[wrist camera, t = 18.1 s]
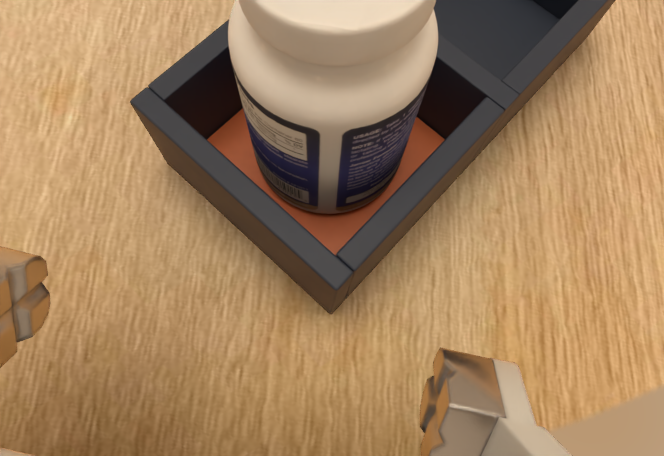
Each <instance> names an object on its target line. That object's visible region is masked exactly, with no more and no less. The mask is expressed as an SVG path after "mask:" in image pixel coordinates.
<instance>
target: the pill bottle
mask: <svg viewBox="0 0 664 456" xmlns="http://www.w3.org/2000/svg"><path fill="white" fill-rule="evenodd" d="M435 2H436V0H235V2H234V4H233V7H232V10H231V14H230V18H229V25H228V44H229V51H230V58H231V63H232V67H233V71H234V74H235V78H236V82H237V86H238V90H239V94H240V98H241V102H242V106H243V110H244V114H245V118H246V122H247V126H248V130H249V134H250V138H251V142H252V146H253V149H254V153H255V157H256V161H257V164H258V166H259V169H260V171H261V173H262V175H263V177H264V179H265V181H266V182H267V184H268V185H269V186H270V187H271V189H272V190H273V191H274V192H275V193H276V194H277V195H279V196H280V197H281V198H282V199H284V200H285V201H287V202H288V203H290V204H292V205H293V206H296V207H298V208H300V209H303V210H306V211H310V212H314V213H322V214H336V213H344V212H348V211H352V210H355V209H358V208H360V207H362V206H364V205H366V204H368V203H370V202H371V201H373V200H374V199H375V198H377V197H378V196H379V195H380V194H381V193H382V192H383V191H384V190H385V189H386V188H387V187H388V185H389V184H390V183H391V181H392V179H393V178H394V176H395V174H396V172H397V170H398V168H399V165H400V162H401V159H402V157H403V153H404V151H405V148H406V145H407V142H408V139H409V136H410V133H411V131H412V128H413V125H414V122H415V119H416V116H417V113H418V110H419V107H420V104H421V102H422V99H423V96H424V93H425V90H426V87H427V85H428V82H429V79H430V76H431V73H432V69H433V66H434V63H435V59H436V55H437V48H438V27H437V21H436V16H435V12H434V9H433V8H434V6H435Z"/></svg>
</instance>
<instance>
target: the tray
mask: <svg viewBox="0 0 664 456" xmlns="http://www.w3.org/2000/svg"><path fill="white" fill-rule="evenodd" d="M614 1H615V0H436V2H435V6H434V8H433V9H434V12H435V16H436V21H437V27H438V48H437V55H436V59H435V63H434V66H433V69H432V73H431V76H430V79H429V82H428V85H427V87H426V90H425V93H424V96H423V99H422V102H421V104H420V107H419V110H418V113H417V116H416V119H415V122H414V125H413V128H412V131H411V133H410V136H409V139H408V142H407V145H406V148H405V151H404V153H403V157H402V159H401V162H400V165H399V168H398V170H397V172H396V174H395V176H394V178H393V179H392V181H391V183H390V184H389V185H388V187H387V188H386V189H385V190H384V191H383V192H382V193H381V194H380V195H379V196H378V197H377V198H375V199H374V200H373V201H371V202H370V203H368V204H366V205H364V206H362V207H360V208H358V209H355V210H352V211H348V212H344V213H336V214H322V213H314V212H310V211H306V210H303V209H300V208H298V207H296V206H293V205H292V204H290V203H288V202H287V201H285V200H284V199H282V198H281V197H280V196H279V195H277V194H276V193H275V192H274V191H273V190H272V189H271V187H270V186H269V185H268V184H267V182H266V181H265V179H264V177H263V175H262V173H261V171H260V169H259V166H258V164H257V161H256V157H255V153H254V149H253V146H252V142H251V138H250V134H249V130H248V126H247V122H246V118H245V114H244V110H243V106H242V102H241V98H240V94H239V90H238V86H237V82H236V78H235V74H234V71H233V67H232V63H231V58H230V51H229V44H228V25H229V20H228V21H227V22H225V23H224V24H223V25H222V26H220V27H219V28H218V29H217V30H215V31H214V32H213V33H212V34H211V35H209V36H208V37H207V38H206V39H204V40H203V41H202V42H201V43H199V44H198V45H197V46H196V47H195V48H193V49H192V50H191V51H190V52H188V53H187V54H186V55H185V56H184V57H182V58H181V59H180V60H179V61H177V62H176V63H175V64H174V65H172V66H171V67H170V68H169V69H168V70H166V71H165V72H164V73H163V74H161V75H160V76H159V77H158V78H157V79H155V80H154V81H153V82H152V83H150V84H149V85H148V86H149V88H148V87H147V88H145V89H144V90H143V91H141V92H140V93H139V94H138V95H136V96H135V97H134V98H133V99H132V100H131V101H130V103H131V105H132V106H133V108H134V110H135V111H136V113H137V115H138V116H139V118H140V119H141V121H142V123H143V124H144V126H145V127H146V129H147V131H148V132H149V134H150V135H151V137H152V139H153V140H154V142H155V144H156V145H157V147H158V148H159V150H160V152H161V153H162V155H163V157H164V159H165V160H166V162H167V163H168V164H169V165H170V166H171V167H173V168H174V169H175V170H176V171H177V172H178V173H179V174H180V175H181V176H182V177H183V178H184V179H185V180H187V181H188V182H189V183H190V184H191V185H192V186H193V187H194V188H195V189H196V190H197V191H198V192H199V193H200V194H202V195H203V196H204V197H205V198H206V199H207V200H208V201H209V202H210V203H211V204H212V205H213V206H214V207H216V208H217V209H218V210H219V211H220V212H221V213H222V214H223V215H224V216H225V217H226V218H227V219H228V220H230V221H231V222H232V223H233V224H234V225H235V226H236V227H237V228H238V229H239V230H240V231H241V232H242V233H244V234H245V235H246V236H247V237H248V238H249V239H250V240H251V241H252V242H253V243H254V244H255V245H256V246H257V247H259V248H260V249H261V250H262V251H263V252H264V253H265V254H266V255H267V256H268V257H269V258H270V259H271V260H273V261H274V262H275V263H276V264H277V265H278V266H279V267H280V268H281V269H282V270H283V271H284V272H285V273H287V274H288V275H289V276H290V277H291V278H292V279H293V280H294V281H295V282H296V283H297V284H298V285H299V286H301V287H302V288H303V289H304V290H305V291H306V292H307V293H308V294H309V295H310V296H311V297H312V298H313V299H314V300H316V301H317V302H318V303H319V304H320V305H321V306H322V307H323V308H324V309H325V310H326V311H327V312H328V313H330V314H332V313H333V312H334V311H335V310H336V309H337V308H338V307H339V306H340V304H341V303H342V302H343V301H344V300H345V299H346V298H347V297H348V296H349V295H350V294H351V292H352V291H353V290H354V289H355V288H356V287H357V286H358V285H359V284H360V283H361V282H362V281H363V279H364V278H365V277H366V276H367V275H368V274H369V273H370V272H371V271H372V270H373V269H374V268H375V266H376V265H377V264H378V263H379V262H380V261H381V260H382V259H383V258H384V257H385V256H386V255H387V253H388V252H389V251H390V250H391V249H392V248H393V247H394V246H395V245H396V244H397V243H398V241H399V240H400V239H401V238H402V237H403V236H404V235H405V234H406V233H407V232H408V231H409V230H410V228H411V227H412V226H413V225H414V224H415V223H416V222H417V221H418V220H419V219H420V218H421V217H422V215H423V214H424V213H425V212H426V211H427V210H428V209H429V208H430V207H431V206H432V205H433V204H434V202H435V201H436V200H437V199H438V198H439V197H440V196H441V195H442V194H443V193H444V192H445V190H446V189H447V188H448V187H449V186H450V185H451V184H452V183H453V182H454V181H455V180H456V179H457V177H458V176H459V175H460V174H461V173H462V172H463V171H464V170H465V169H466V168H467V167H468V166H469V164H470V163H471V162H472V161H473V160H474V159H475V158H476V157H477V156H478V155H479V154H480V153H481V151H482V150H483V149H484V148H485V147H486V146H487V145H488V144H489V143H490V142H491V141H492V140H493V138H494V137H495V136H496V135H497V134H498V133H499V132H500V131H501V130H502V129H503V128H504V126H505V125H506V124H507V123H508V122H509V121H510V120H511V119H512V118H513V117H514V116H515V115H516V113H517V112H518V111H519V110H520V109H521V108H522V107H523V106H524V105H525V104H526V103H527V102H528V100H529V99H530V98H531V97H532V96H533V95H534V94H535V93H536V92H537V91H538V90H539V89H540V87H541V86H542V85H543V84H544V83H545V82H546V81H547V80H548V79H549V78H550V77H551V75H552V74H553V73H554V72H555V71H556V70H557V69H558V68H559V67H560V66H561V65H562V64H563V62H564V61H565V60H566V59H567V58H568V57H569V56H570V55H571V54H572V53H573V52H574V51H575V49H576V48H577V47H578V46H579V45H580V44H581V43H582V42H583V41H584V40H585V39H586V38H587V36H588V35H589V34H590V33H591V31H592V30H593V29H594V27H595V26H596V25H597V23H598V22H599V21H600V20H601V18H602V17H603V16H604V14H605V13H606V12H607V10H608V9H609V8H610V7H611V5H612V4H613V3H614Z"/></svg>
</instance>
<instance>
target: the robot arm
mask: <svg viewBox="0 0 664 456" xmlns="http://www.w3.org/2000/svg"><path fill="white" fill-rule="evenodd" d="M47 276H48V271H47V264H46V261H45V260H44V259H43V258H42V257H41V256H37V255H33V254H29V253H25V252H21V251H17V250H13V249H9V248H5V247H1V246H0V368H1V367H2V366H3V365H4V364H5V363H6V362H7V361H8V360H9V359H10V358H11V357H12V356H13V355H14V354H15V353H16V352H17V342H20V341H23V340H25V339H28V338H31V337H33V336H34V335H35V334H36V332H37V331H38V330H39V329H40V328H41V327H42V325H43V323H44V321H45V320H46V318H47V316H48V313H49V307H50V293H49V292H48V290H47V289H46V288H45V286H44V285H43V284H42V281H43V280H44V279H45V278H46V277H47ZM433 368H434V376H432V377H431V378H429V379H427V382H426V385H425V388H424V391H423V395H422V400H421V405H420V428H421V429H422V430H423V432H424V433H425V435H424V437H423V440H422V443H421V456H572V455H571V454H570V453H569V452H568V451H567V450H566V449H565V448H564V447H563V446H562V445H561V444H560V443H559V442H558V441H557V440H556V439H555V438H554V437H553V436H552V435H551V434H550V433H549V432H548V431H547V430H546V429H545V428H544V427H540V426H537V425H536V421H535V418H534V415H533V412H532V408H531V405H530V402H529V399H528V395H527V392H526V389H525V385H524V382H523V379H522V376H521V372H520V369H519V366H518V365H517V364H516V363H514V362H509V361H504V360H499V359H494V358H485V357H481V356H476V355H472V354H467V353H463V352H458V351H454V350H449V349H445V348H440V349H439V350H438V352H437V354H436V357H435V359H434V362H433ZM0 456H35V455H30V454H26V453H22V452H18V451H14V450H9V449H5V448H1V447H0Z"/></svg>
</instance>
